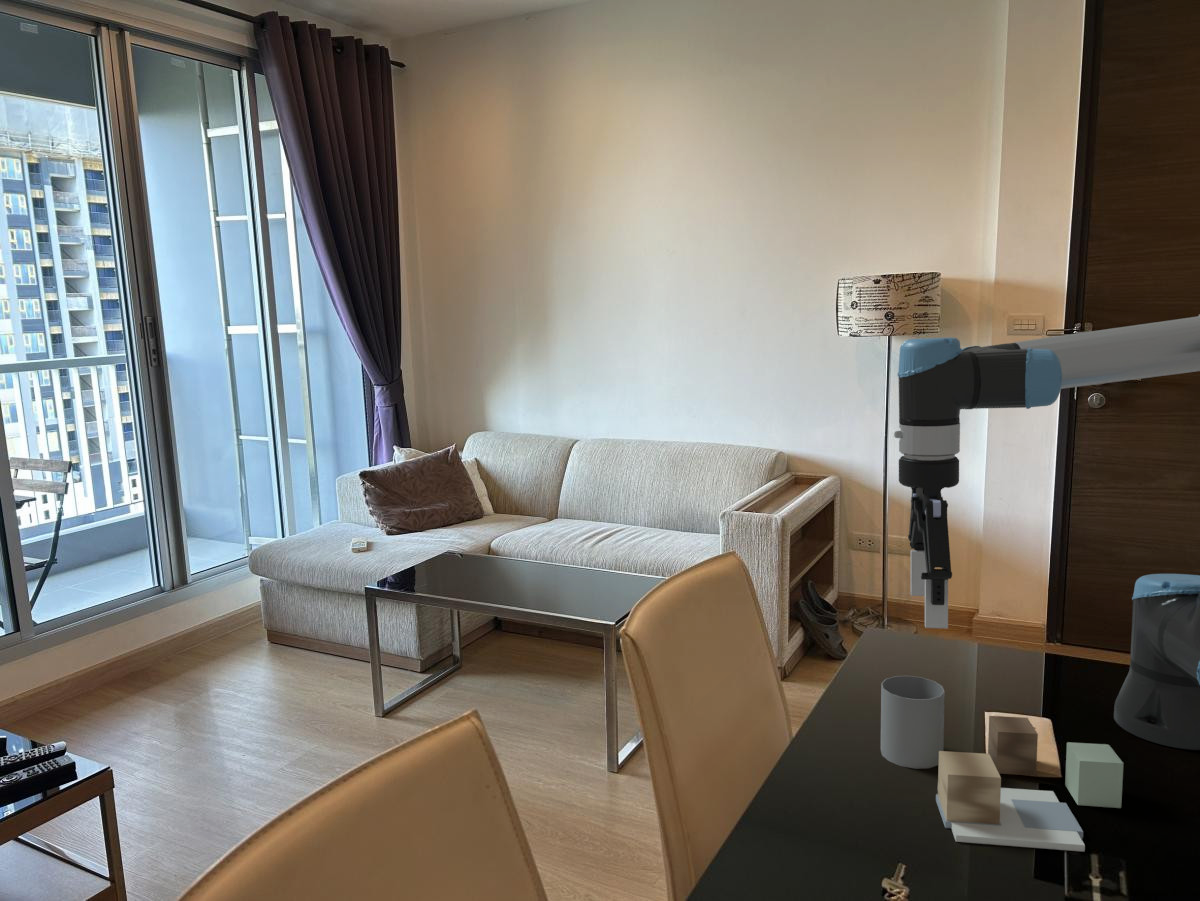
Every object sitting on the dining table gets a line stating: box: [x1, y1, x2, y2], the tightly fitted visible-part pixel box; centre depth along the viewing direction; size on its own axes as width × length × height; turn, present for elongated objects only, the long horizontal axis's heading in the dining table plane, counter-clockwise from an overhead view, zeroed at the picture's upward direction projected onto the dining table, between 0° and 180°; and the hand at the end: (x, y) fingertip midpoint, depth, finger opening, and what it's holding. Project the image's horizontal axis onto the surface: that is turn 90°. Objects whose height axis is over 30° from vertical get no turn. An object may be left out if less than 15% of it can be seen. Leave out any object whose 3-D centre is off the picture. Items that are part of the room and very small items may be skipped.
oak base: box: [937, 750, 1002, 825], centre depth 109 cm, size 6×6×6 cm
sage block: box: [1064, 741, 1124, 809], centre depth 113 cm, size 5×5×6 cm
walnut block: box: [987, 715, 1039, 777], centre depth 121 cm, size 5×5×6 cm
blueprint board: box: [935, 787, 1086, 853], centre depth 108 cm, size 15×12×1 cm
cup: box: [880, 675, 946, 770], centre depth 125 cm, size 8×8×10 cm
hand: (928, 610), depth 119 cm, fingers open, 13 cm apart
